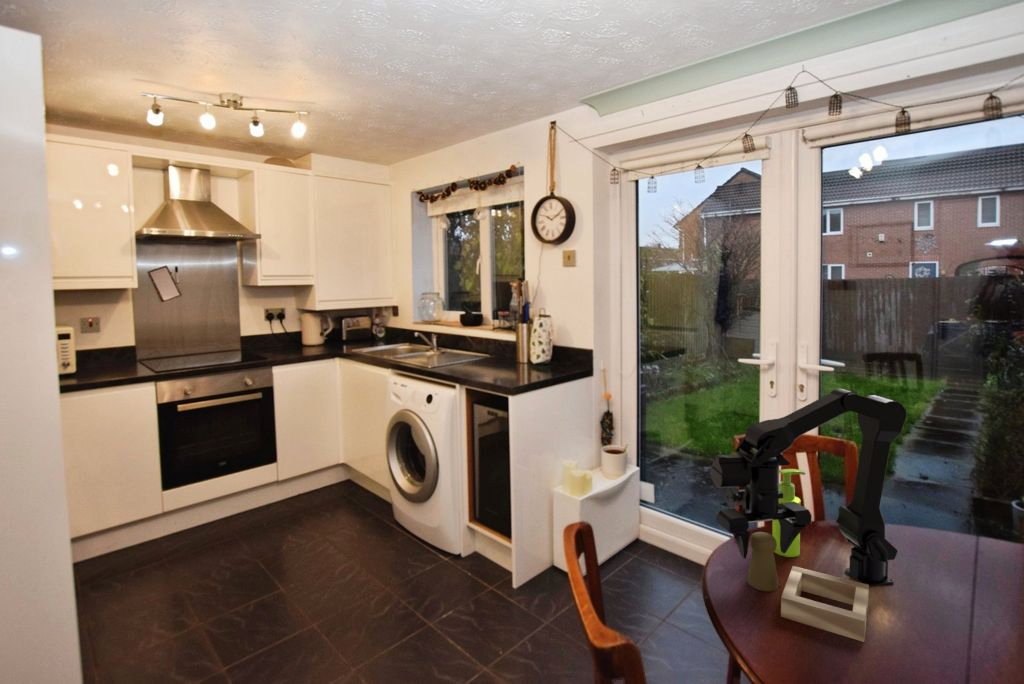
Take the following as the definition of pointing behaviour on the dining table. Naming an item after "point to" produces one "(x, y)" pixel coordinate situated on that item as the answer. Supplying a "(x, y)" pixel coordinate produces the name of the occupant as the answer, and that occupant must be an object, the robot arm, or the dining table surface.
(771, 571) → the olive round-headed peg
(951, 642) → the dining table surface
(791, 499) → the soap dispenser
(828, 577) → the socket block
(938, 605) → the dining table surface
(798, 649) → the dining table surface
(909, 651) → the dining table surface
